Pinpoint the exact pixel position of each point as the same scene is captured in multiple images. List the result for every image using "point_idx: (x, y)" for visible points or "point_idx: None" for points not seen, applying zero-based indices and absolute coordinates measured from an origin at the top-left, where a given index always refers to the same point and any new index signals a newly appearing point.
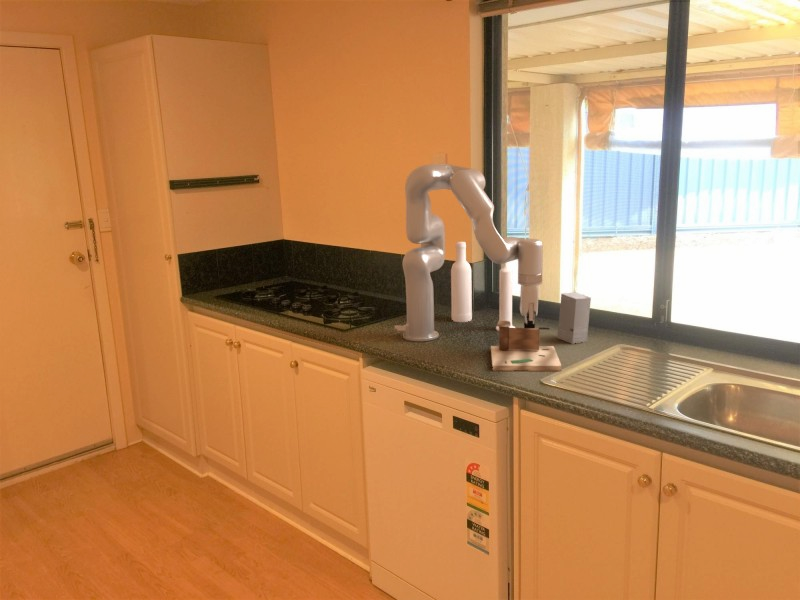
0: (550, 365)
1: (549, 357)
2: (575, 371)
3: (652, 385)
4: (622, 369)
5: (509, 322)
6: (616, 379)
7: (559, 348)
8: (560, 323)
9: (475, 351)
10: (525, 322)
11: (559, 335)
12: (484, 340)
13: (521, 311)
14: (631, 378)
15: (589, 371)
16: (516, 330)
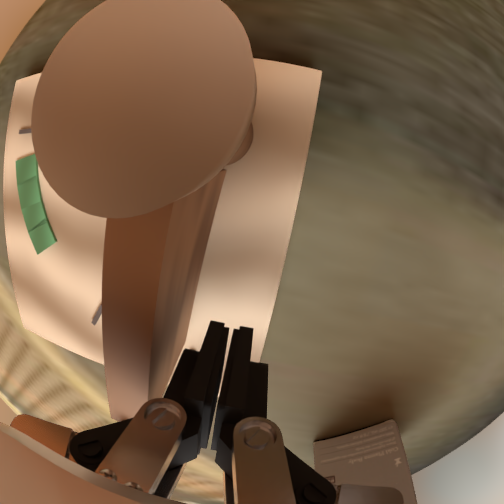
0: (17, 297)
1: (85, 332)
2: (39, 349)
3: (27, 410)
4: (84, 430)
5: (90, 196)
6: (28, 388)
7: (277, 408)
8: (396, 469)
9: (310, 5)
10: (179, 415)
11: (386, 431)
12: (486, 124)
13: (4, 485)
14: (42, 410)
15: (50, 376)
16: (110, 259)
